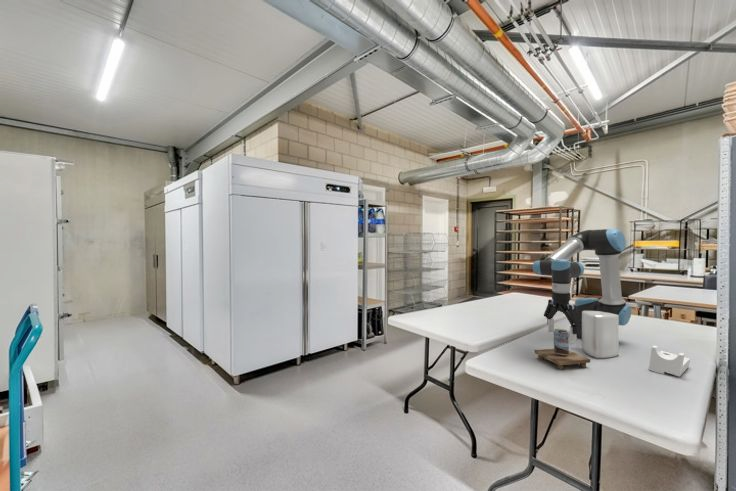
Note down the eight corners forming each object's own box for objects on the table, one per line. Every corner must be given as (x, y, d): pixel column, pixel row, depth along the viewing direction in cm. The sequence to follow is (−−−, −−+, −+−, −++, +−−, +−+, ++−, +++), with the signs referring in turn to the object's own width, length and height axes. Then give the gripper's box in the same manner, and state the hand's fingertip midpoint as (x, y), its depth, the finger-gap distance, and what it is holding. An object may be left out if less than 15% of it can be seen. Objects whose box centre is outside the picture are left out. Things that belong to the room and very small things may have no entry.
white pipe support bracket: (679, 379, 132) (682, 355, 131) (648, 369, 140) (651, 347, 139) (688, 369, 143) (691, 346, 142) (659, 360, 151) (662, 339, 150)
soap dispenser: (618, 354, 160) (618, 311, 159) (615, 362, 149) (615, 316, 149) (583, 348, 170) (583, 307, 170) (577, 355, 160) (577, 311, 159)
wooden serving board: (534, 357, 156) (534, 349, 156) (562, 355, 159) (562, 347, 159) (559, 370, 141) (559, 362, 141) (590, 367, 144) (590, 359, 143)
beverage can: (556, 356, 147) (556, 330, 147) (551, 351, 154) (550, 326, 154) (571, 357, 146) (571, 331, 146) (565, 352, 153) (565, 327, 153)
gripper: (535, 288, 161) (536, 329, 162) (575, 297, 137) (576, 345, 137) (548, 287, 162) (549, 328, 163) (590, 296, 138) (591, 344, 138)
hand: (561, 336), depth 150 cm, fingers open, 13 cm apart
